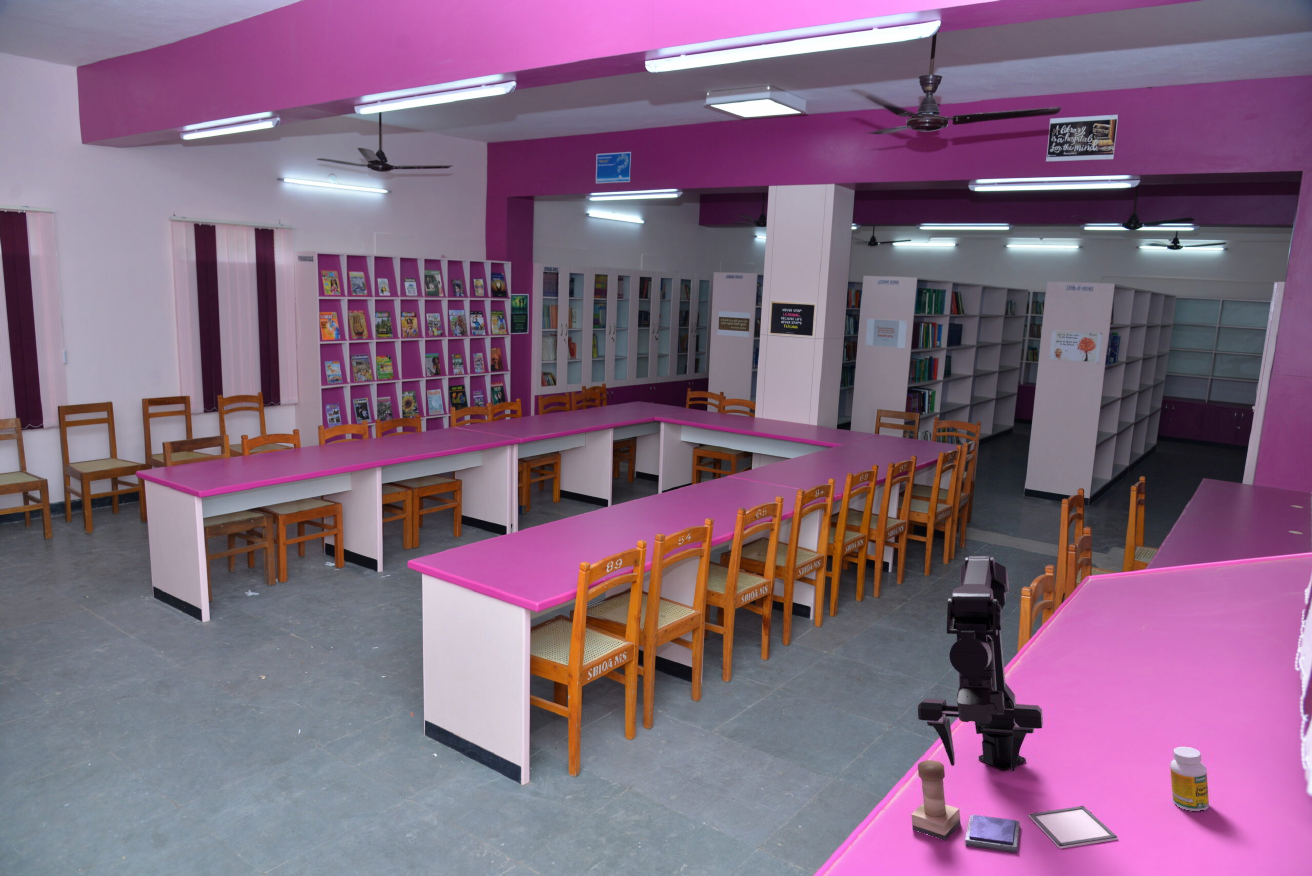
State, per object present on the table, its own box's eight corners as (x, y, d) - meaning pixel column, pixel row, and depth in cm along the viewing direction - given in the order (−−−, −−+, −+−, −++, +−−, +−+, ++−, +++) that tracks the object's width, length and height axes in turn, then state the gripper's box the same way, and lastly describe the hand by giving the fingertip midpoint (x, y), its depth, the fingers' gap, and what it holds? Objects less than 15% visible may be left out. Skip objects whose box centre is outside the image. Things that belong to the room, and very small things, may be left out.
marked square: (1028, 816, 147) (1028, 813, 147) (1083, 808, 147) (1083, 805, 147) (1059, 848, 137) (1059, 845, 137) (1118, 839, 137) (1118, 836, 137)
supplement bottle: (1181, 793, 148) (1178, 741, 147) (1215, 804, 144) (1211, 751, 143) (1166, 804, 145) (1162, 752, 145) (1200, 816, 141) (1196, 762, 140)
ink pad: (970, 820, 148) (970, 812, 148) (1019, 826, 144) (1019, 818, 144) (965, 845, 141) (964, 837, 141) (1017, 852, 137) (1016, 844, 137)
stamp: (928, 814, 151) (922, 755, 150) (960, 824, 147) (954, 763, 146) (912, 830, 147) (906, 769, 146) (945, 841, 143) (939, 778, 142)
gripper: (910, 671, 135) (915, 773, 132) (1036, 677, 126) (1044, 786, 124) (921, 664, 144) (926, 758, 142) (1039, 669, 136) (1046, 769, 134)
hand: (982, 768), depth 135 cm, fingers open, 9 cm apart
